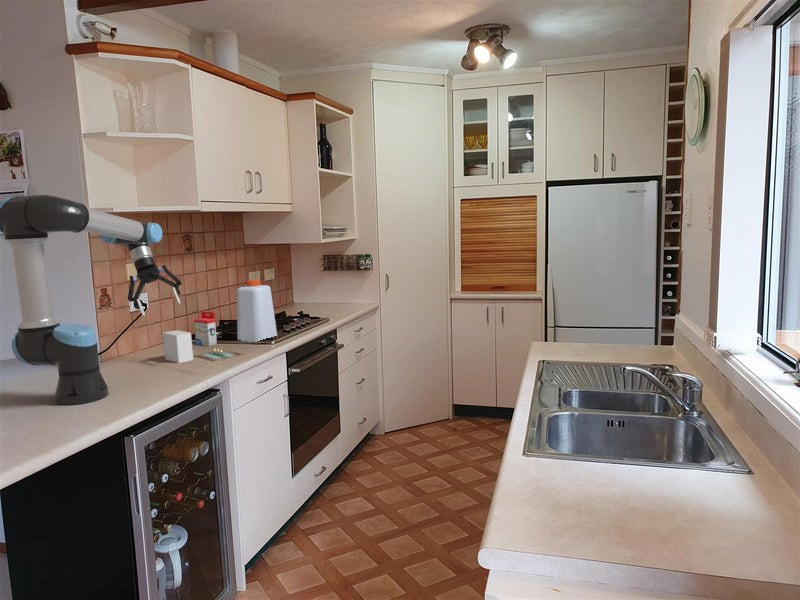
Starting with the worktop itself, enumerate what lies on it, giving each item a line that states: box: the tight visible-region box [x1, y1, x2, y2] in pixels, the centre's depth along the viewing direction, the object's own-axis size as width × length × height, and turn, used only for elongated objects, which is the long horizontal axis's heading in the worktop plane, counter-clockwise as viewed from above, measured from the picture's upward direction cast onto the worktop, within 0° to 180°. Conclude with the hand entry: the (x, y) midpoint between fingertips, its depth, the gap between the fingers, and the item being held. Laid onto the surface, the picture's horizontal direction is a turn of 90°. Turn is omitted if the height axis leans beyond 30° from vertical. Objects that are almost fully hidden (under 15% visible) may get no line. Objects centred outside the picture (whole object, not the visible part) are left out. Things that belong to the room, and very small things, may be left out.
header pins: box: [212, 347, 223, 356], centre depth 238 cm, size 1×6×2 cm, turn 49°
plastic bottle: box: [236, 279, 278, 342], centre depth 267 cm, size 15×15×28 cm
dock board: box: [193, 348, 244, 362], centre depth 239 cm, size 14×16×1 cm
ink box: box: [193, 311, 218, 347], centre depth 266 cm, size 8×5×15 cm, turn 62°
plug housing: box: [162, 329, 194, 364], centre depth 233 cm, size 6×11×12 cm, turn 49°
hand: (162, 309), depth 228 cm, fingers open, 13 cm apart
